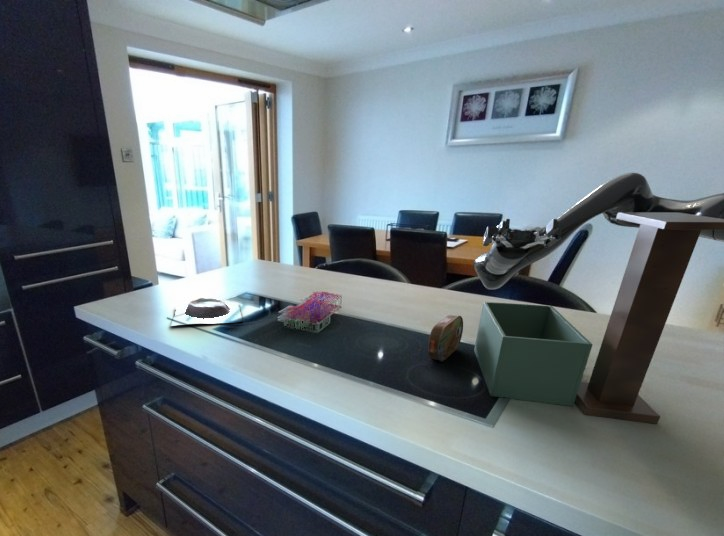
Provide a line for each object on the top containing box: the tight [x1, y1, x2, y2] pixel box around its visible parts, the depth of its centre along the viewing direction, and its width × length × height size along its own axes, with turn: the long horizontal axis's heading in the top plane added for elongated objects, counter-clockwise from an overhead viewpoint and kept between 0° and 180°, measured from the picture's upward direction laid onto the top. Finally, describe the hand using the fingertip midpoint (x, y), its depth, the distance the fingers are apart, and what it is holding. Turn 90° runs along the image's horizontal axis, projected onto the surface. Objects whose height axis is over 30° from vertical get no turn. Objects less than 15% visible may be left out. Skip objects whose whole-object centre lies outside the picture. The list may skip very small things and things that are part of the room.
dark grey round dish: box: [185, 297, 230, 319], centre depth 120 cm, size 21×20×4 cm
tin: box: [427, 314, 464, 362], centre depth 88 cm, size 15×3×8 cm, turn 137°
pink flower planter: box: [277, 291, 343, 334], centre depth 117 cm, size 30×15×5 cm, turn 150°
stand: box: [574, 212, 724, 425], centre depth 63 cm, size 10×14×32 cm
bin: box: [473, 301, 594, 407], centre depth 78 cm, size 13×21×12 cm, turn 162°
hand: (531, 223), depth 80 cm, fingers open, 8 cm apart
